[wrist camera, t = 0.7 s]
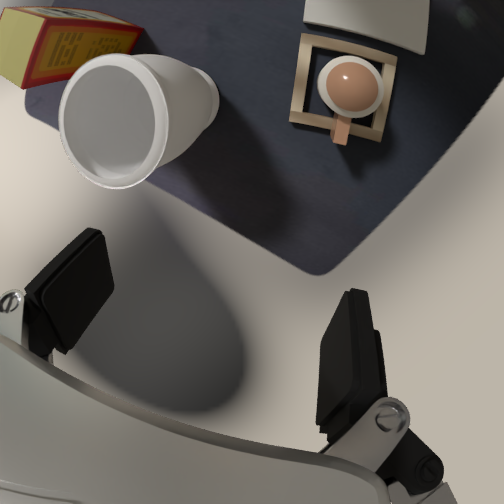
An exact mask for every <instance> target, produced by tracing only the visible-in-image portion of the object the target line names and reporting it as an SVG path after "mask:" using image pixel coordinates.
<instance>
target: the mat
mask: <svg viewBox="0 0 504 504" xmlns="http://www.w3.org/2000/svg"><path fill="white" fill-rule="evenodd" d="M429 2H430V0H306V4H305V11H304V19H303V23H309V24H315V25H321V26H326V27H331V28H335V29H340V30H344V31H349V32H353V33H356V34H360V35H364V36H367V37H371V38H374V39H378V40H381V41H384V42H387V43H390V44H393V45H396V46H399V47H402V48H404V49H407V50H410V51H412V52H415V53H417V54H420V55H425V48H426V39H427V29H428V18H429Z"/></svg>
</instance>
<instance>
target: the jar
mask: <svg viewBox="0 0 504 504" xmlns="http://www.w3.org/2000/svg"><path fill="white" fill-rule="evenodd" d="M218 108H219V93H218V89H217V87H216V85H215V83H214V81H213V80H212V79H211V77H210V76H209V75H207V74H206V73H205V72H203V71H202V70H200V69H197V68H194V67H191V66H189V65H187V64H184V63H183V62H181V61H178V60H176V59H173V58H170V57H167V56H162V55H154V54H141V55H133V56H131V55H127V54H117V53H116V54H106V55H101V56H98V57H96V58H93V59H91V60H89V61H88V62H86V63H85V64H84V65H82V66H81V67H80V68H79V69H78V70H77V71H76V72H75V73H74V74H73V76H72V77H71V79H70V80H69V82H68V84H67V85H66V87H65V90H64V92H63V95H62V98H61V102H60V107H59V132H60V137H61V141H62V144H63V147H64V149H65V152H66V154H67V156H68V158H69V159H70V161H71V162H72V164H73V165H74V167H75V168H76V169H77V170H78V171H79V172H80V173H81V174H82V175H83V176H84V177H85V178H86V179H88V180H89V181H91V182H93V183H94V184H96V185H99V186H102V187H105V188H109V189H124V188H128V187H131V186H134V185H136V184H138V183H140V182H141V181H143V180H144V179H145V178H146V177H148V176H149V175H150V174H151V173H152V172H153V171H154V170H155V169H156V168H157V167H160V166H162V165H164V164H166V163H168V162H170V161H172V160H173V159H175V158H176V157H178V156H179V155H181V154H182V153H183V152H184V151H185V150H187V149H188V148H189V147H190V146H191V145H192V144H193V142H194V141H195V140H196V139H197V137H198V136H199V135H200V134H201V133H202V131H203V130H204V129H206V128H207V127H208V126H209V125H210V124H211V123H212V121H213V120H214V118H215V117H216V115H217V112H218Z"/></svg>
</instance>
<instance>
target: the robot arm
mask: <svg viewBox="0 0 504 504" xmlns="http://www.w3.org/2000/svg"><path fill="white" fill-rule="evenodd" d="M24 289H25V291H26V293H27V294H26V295H25V296H24V295H23V293H22V292H21V291H20V290H10V291H7V292H5V293H4V294H3V295H2V296H1V297H0V504H391V503H390V502H392V504H457V502H456V500H455V498H454V495H453V493H452V492H451V490H450V487H449V485H448V484H447V482H445V483H443V481H442V478H443V474H444V466H443V463H442V461H441V459H440V458H439V457H438V456H437V455H436V454H435V453H434V452H433V451H432V450H431V449H430V448H429V447H428V446H427V445H425V444H424V442H423V441H422V440H420V439H419V438H418V437H417V435H415V434H414V433H413V432H412V431H411V430H410V429H409V428H408V427H409V425H410V414H409V411H408V409H407V407H406V406H405V405H404V404H403V403H402V402H401V401H399V400H398V399H396V398H392V397H388V393H387V383H386V374H385V365H384V358H383V350H382V343H381V336H380V333H379V331H378V330H374V328H373V322H372V316H371V309H370V304H369V297H368V293H367V291H364V290H359V289H355V288H351V289H350V291H345V292H344V294H343V296H342V298H341V300H340V303H339V305H338V307H337V309H336V311H335V313H334V315H333V317H332V319H331V322H330V324H329V326H328V327H327V330H326V331H325V334H324V335H323V338H322V341H321V345H320V365H319V383H318V398H317V413H316V425H319V426H320V432H319V433H325V434H327V441H328V442H329V443H328V444H327V445H326V446H325V447H324V448H323V449H322V450H320V451H319V452H318V453H316V452H309V451H303V450H297V449H292V448H285V447H279V446H274V445H268V444H263V443H258V442H253V441H249V440H243V439H240V438H235V437H230V436H227V435H223V434H219V433H215V432H211V431H207V430H204V429H200V428H197V427H194V426H190V425H187V424H184V423H181V422H178V421H175V420H172V419H169V418H166V417H163V416H160V415H158V414H155V413H152V412H150V411H147V410H144V409H142V408H139V407H136V406H134V405H132V404H129V403H127V402H125V401H122V400H120V399H118V398H116V397H113V396H111V395H109V394H107V393H105V392H103V391H101V390H98V389H96V388H94V387H92V386H90V385H88V384H86V383H84V382H82V381H80V380H79V379H77V378H75V377H73V376H71V375H69V374H67V373H66V372H64V371H62V370H60V369H59V368H57V367H55V366H54V365H53V353H52V350H53V349H54V347H55V348H56V350H58V351H59V352H61V353H63V354H65V355H66V353H67V352H68V350H70V349H72V348H73V347H74V346H75V344H76V343H77V341H78V340H79V338H80V337H81V335H82V334H83V332H84V331H85V330H86V328H87V327H88V325H89V324H90V322H91V321H92V320H93V318H94V317H95V316H96V314H97V313H98V311H99V310H100V309H101V307H102V306H103V305H104V303H105V302H106V300H107V299H108V298H109V296H110V295H111V294H112V292H113V290H114V281H113V277H112V273H111V267H110V263H109V258H108V252H107V247H106V242H105V237H104V235H103V234H102V232H101V231H100V230H97V229H93V228H87V229H85V230H84V231H83V232H82V233H81V234H79V235H78V236H77V237H76V238H75V239H74V240H73V241H72V242H71V243H70V244H68V245H67V246H66V247H65V248H64V249H63V250H62V251H61V252H60V253H59V254H58V255H57V256H56V257H55V258H54V259H53V260H52V261H51V262H49V264H47V265H46V267H44V269H42V271H40V273H39V274H38V275H37V276H36V277H35V278H34V279H33V280H32V281H31V282H30V283H29V284H28V285H27V286H26V287H25V288H24Z"/></svg>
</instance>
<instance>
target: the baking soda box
mask: <svg viewBox="0 0 504 504" xmlns="http://www.w3.org/2000/svg"><path fill="white" fill-rule="evenodd" d="M143 30H144V28H141V27H139V26H137V25H134V24H132V23H129V22H127V21H124V20H121V19H119V18H116V17H113V16H110V15H107V14H104V13H102V12H98V11H94V10H86V9H77V8H65V7H42V6H41V7H40V6H28V7H27V6H26V7H6V8H4V9H3V12H2V14H1V17H0V75H2V76H3V77H5V78H6V79H8V80H9V81H11V82H12V83H14V84H15V85H17V86H18V87H20V88H21V89H27V88H31V87H35V86H39V85H44V84H48V83H53V82H58V81H63V80H69V79H71V77H72V76H73V74H74V73H75V72H76V71H77V70H78V69H79V68H80V67H81V66H82V65H84V64H85V63H86V62H88V61H89V60H91V59H93V58H96V57H98V56H101V55H106V54H116V53H117V54H127V55H130V53H131V51H132V49H133V48H134V46H135V44H136V42H137V40H138V39H139V37H140V35H141V33H142V32H143Z"/></svg>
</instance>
